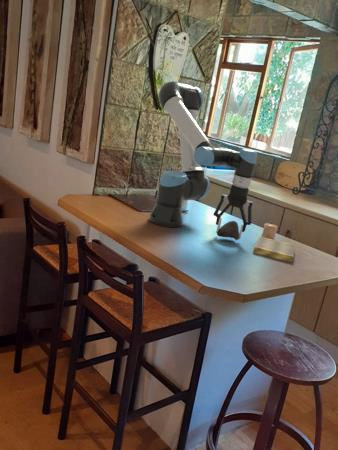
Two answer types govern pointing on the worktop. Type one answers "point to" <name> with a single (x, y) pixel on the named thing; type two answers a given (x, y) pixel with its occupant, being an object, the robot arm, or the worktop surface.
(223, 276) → the worktop surface
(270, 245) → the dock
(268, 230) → the peach rounded capsule
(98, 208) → the worktop surface
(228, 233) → the stone
